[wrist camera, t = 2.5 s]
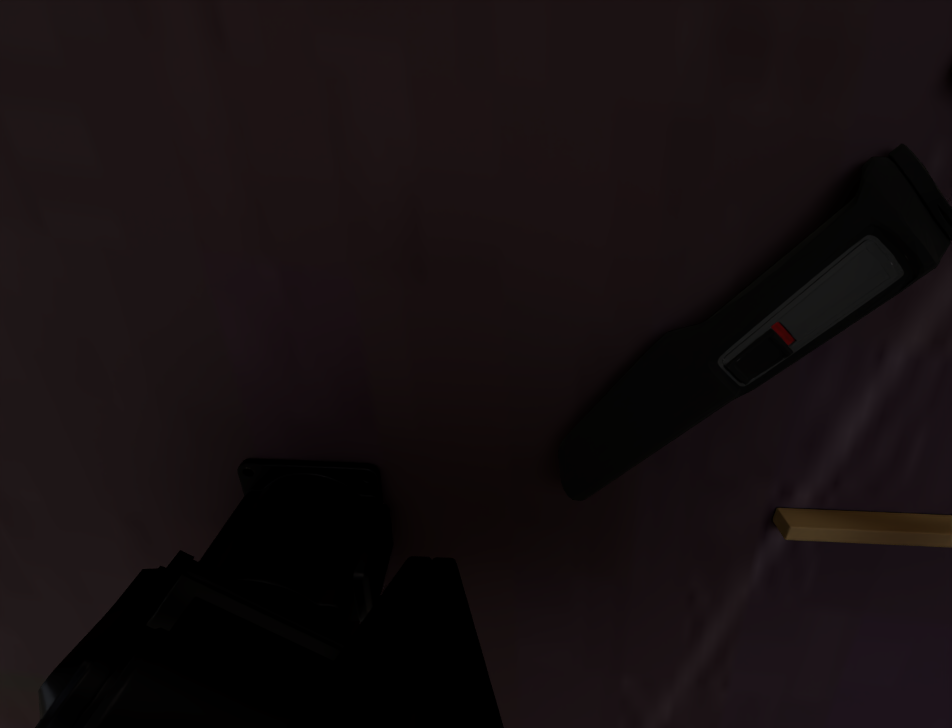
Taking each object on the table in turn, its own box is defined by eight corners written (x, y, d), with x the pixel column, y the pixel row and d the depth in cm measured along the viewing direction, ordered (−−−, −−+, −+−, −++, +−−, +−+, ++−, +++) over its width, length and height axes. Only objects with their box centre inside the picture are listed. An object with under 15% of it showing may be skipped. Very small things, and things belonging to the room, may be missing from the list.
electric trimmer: (531, 425, 21) (535, 475, 18) (887, 131, 15) (976, 136, 12) (589, 473, 22) (601, 526, 19) (944, 216, 16) (1039, 238, 13)
